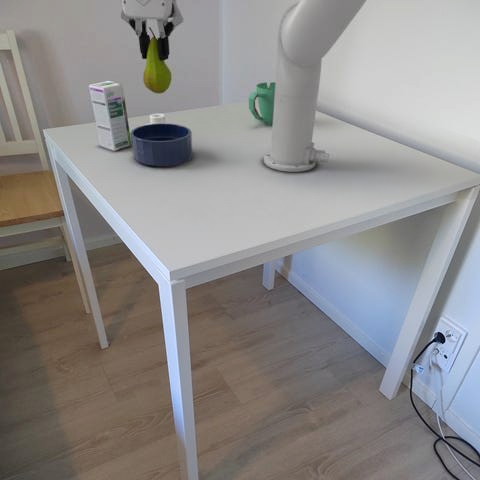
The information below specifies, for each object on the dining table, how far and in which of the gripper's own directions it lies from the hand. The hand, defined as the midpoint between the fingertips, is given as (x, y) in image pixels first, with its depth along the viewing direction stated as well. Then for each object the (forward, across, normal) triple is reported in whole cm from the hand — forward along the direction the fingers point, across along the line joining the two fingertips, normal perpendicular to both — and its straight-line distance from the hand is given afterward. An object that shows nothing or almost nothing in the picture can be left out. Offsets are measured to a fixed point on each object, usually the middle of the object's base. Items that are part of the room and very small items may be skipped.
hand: (155, 57), depth 90 cm
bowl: (+21, -1, +1) cm, 21 cm away
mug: (+22, +15, +38) cm, 46 cm away
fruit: (+7, 0, 0) cm, 7 cm away
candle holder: (+22, -11, +19) cm, 31 cm away
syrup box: (+22, -16, +4) cm, 27 cm away
